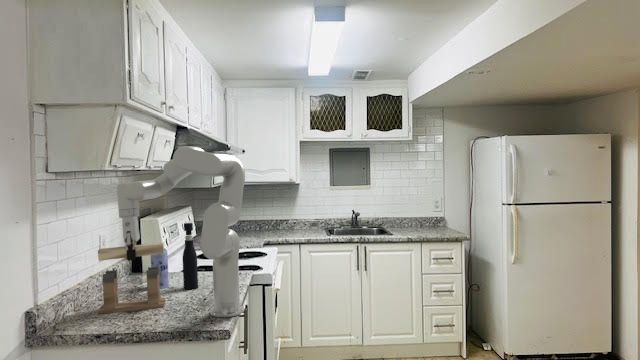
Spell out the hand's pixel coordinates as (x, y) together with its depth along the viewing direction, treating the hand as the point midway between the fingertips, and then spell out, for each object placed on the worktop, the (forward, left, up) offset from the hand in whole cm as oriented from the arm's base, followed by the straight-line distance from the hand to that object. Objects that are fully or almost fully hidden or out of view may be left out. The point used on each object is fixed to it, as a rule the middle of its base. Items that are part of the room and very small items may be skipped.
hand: (132, 258), depth 179 cm
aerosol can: (+30, -7, -20) cm, 37 cm away
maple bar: (0, 0, +1) cm, 1 cm away
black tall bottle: (+22, -21, -20) cm, 37 cm away
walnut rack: (0, +1, -20) cm, 20 cm away
